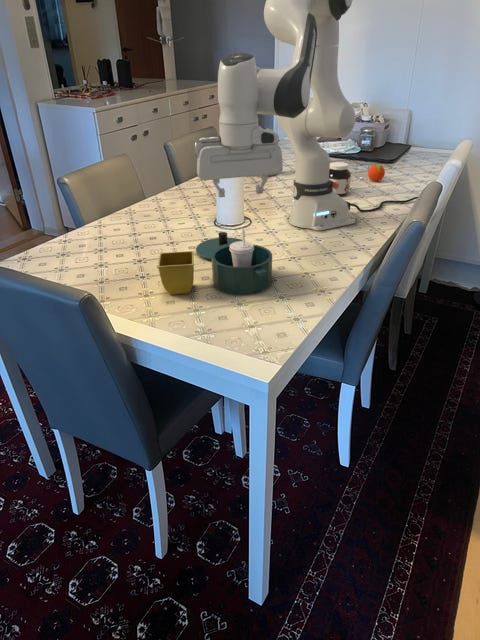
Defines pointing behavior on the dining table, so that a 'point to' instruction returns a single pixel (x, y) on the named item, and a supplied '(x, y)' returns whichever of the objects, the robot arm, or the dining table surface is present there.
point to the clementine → (376, 172)
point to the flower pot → (177, 271)
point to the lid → (214, 245)
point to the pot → (242, 271)
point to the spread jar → (340, 177)
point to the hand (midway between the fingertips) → (240, 194)
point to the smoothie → (242, 252)
